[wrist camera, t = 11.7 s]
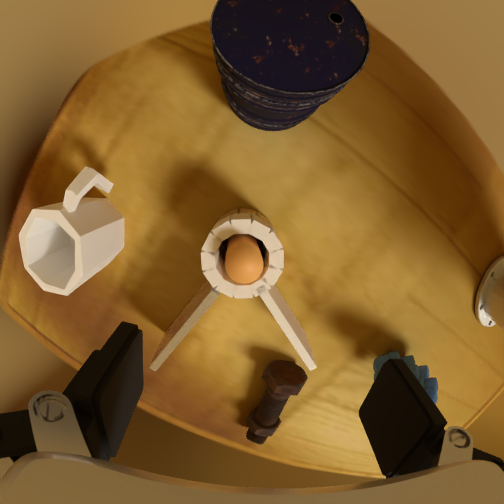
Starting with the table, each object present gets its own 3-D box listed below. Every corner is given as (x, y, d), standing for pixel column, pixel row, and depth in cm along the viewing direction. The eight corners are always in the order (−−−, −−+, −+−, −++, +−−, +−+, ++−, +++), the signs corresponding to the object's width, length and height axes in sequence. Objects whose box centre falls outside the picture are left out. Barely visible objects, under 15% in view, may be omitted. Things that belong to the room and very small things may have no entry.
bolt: (250, 420, 41) (279, 353, 37) (277, 434, 39) (312, 369, 35) (232, 440, 36) (259, 374, 32) (260, 457, 34) (296, 393, 30)
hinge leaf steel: (287, 235, 31) (300, 253, 24) (189, 349, 35) (179, 386, 28) (237, 195, 30) (235, 202, 23) (145, 318, 34) (125, 350, 27)
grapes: (343, 371, 37) (370, 433, 25) (367, 332, 35) (406, 389, 23) (400, 382, 38) (432, 432, 26) (423, 348, 36) (463, 395, 25)
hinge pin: (243, 221, 31) (246, 238, 22) (261, 241, 31) (271, 267, 23) (222, 239, 31) (216, 263, 22) (240, 259, 32) (242, 290, 23)
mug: (115, 275, 32) (75, 310, 23) (62, 245, 31) (14, 269, 21) (148, 181, 29) (109, 187, 20) (89, 155, 28) (38, 153, 19)
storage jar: (242, 144, 29) (239, 117, 14) (212, 65, 26) (188, -9, 12) (330, 118, 28) (395, 80, 13) (298, 42, 25) (333, -34, 11)
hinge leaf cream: (198, 230, 31) (185, 247, 24) (253, 196, 30) (256, 203, 23) (277, 347, 35) (284, 383, 28) (326, 321, 34) (343, 353, 27)
